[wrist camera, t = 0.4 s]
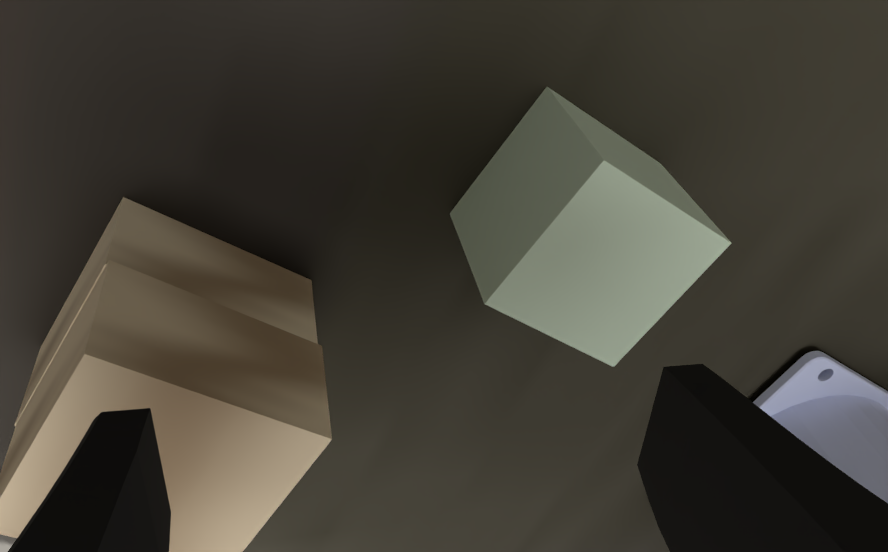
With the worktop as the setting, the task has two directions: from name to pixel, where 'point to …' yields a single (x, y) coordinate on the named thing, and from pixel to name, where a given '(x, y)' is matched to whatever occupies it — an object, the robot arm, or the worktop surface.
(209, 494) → the upper slab
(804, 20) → the worktop surface
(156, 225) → the lower slab
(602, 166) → the green cube
